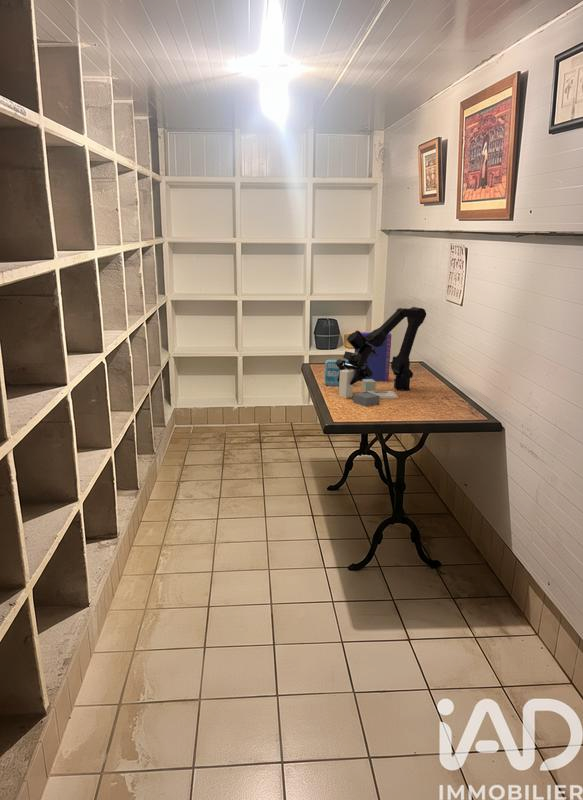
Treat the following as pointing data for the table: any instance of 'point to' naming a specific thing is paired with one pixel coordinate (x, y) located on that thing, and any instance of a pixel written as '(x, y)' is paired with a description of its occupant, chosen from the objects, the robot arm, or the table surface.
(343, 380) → the cream block
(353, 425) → the table surface
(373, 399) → the charcoal slab
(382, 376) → the cereal box
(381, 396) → the tile
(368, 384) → the sage cube
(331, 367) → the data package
